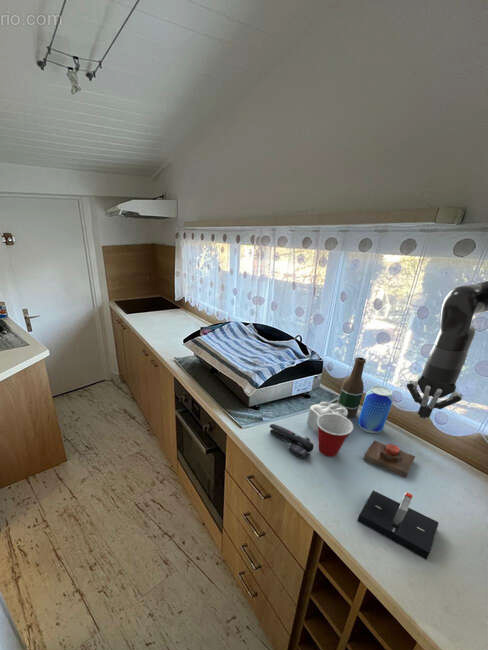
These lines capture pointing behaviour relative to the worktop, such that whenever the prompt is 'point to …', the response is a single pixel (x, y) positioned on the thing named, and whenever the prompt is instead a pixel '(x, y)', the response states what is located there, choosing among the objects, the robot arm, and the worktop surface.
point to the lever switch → (412, 531)
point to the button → (392, 449)
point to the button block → (389, 459)
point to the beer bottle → (353, 389)
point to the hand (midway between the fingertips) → (423, 416)
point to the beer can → (375, 409)
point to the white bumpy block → (323, 409)
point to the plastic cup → (332, 433)
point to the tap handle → (402, 510)
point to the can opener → (293, 441)
